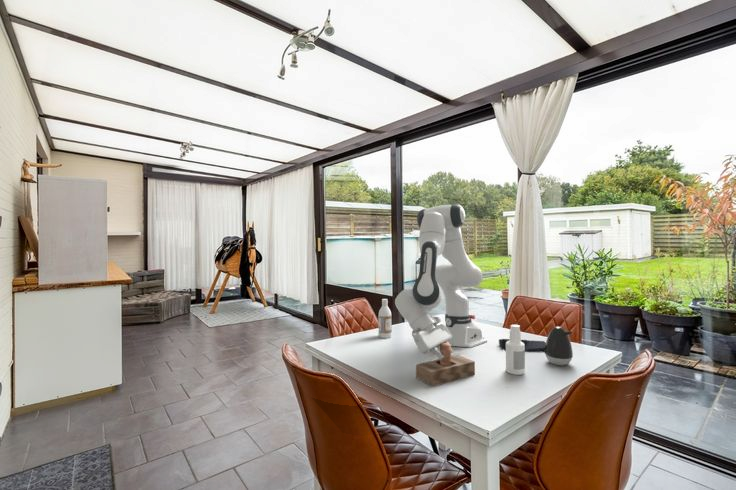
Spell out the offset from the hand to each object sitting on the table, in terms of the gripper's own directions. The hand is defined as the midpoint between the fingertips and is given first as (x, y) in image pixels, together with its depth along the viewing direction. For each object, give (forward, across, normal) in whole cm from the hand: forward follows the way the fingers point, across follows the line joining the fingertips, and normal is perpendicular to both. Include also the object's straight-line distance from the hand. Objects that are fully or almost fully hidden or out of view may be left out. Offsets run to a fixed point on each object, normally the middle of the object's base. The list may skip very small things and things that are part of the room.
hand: (447, 355), depth 132 cm
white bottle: (+19, +20, -8) cm, 29 cm away
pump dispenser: (+27, +40, -16) cm, 51 cm away
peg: (+5, 0, +6) cm, 8 cm away
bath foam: (-30, +30, +42) cm, 59 cm away
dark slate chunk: (+15, +55, -3) cm, 57 cm away
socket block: (+5, 0, +6) cm, 8 cm away
